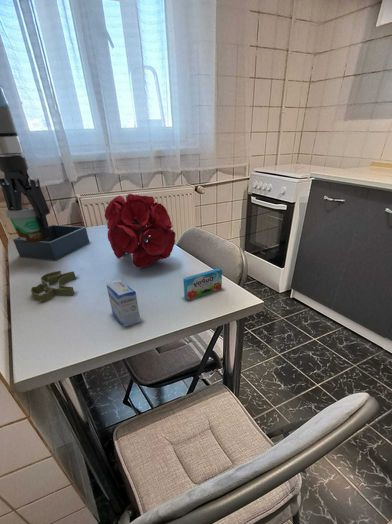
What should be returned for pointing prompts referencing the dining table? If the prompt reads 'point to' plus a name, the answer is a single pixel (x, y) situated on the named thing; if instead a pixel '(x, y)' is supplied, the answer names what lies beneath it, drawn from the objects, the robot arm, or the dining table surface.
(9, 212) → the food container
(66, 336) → the dining table surface
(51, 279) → the cookie cutter
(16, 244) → the tote
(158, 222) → the bouquet
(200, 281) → the light blue food packet
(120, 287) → the medicine box
